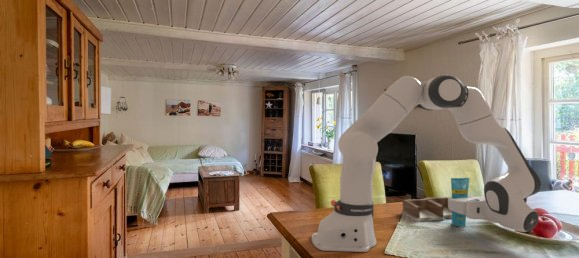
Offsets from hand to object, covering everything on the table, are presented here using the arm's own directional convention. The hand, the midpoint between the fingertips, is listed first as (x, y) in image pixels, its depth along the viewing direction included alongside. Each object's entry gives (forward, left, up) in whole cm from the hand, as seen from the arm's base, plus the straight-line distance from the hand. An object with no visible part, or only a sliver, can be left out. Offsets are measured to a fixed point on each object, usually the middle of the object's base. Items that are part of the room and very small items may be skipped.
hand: (457, 198), depth 130 cm
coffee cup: (+43, +17, -11) cm, 48 cm away
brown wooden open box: (-9, +11, -11) cm, 18 cm away
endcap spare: (+2, +13, -11) cm, 17 cm away
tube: (0, -1, -11) cm, 11 cm away
